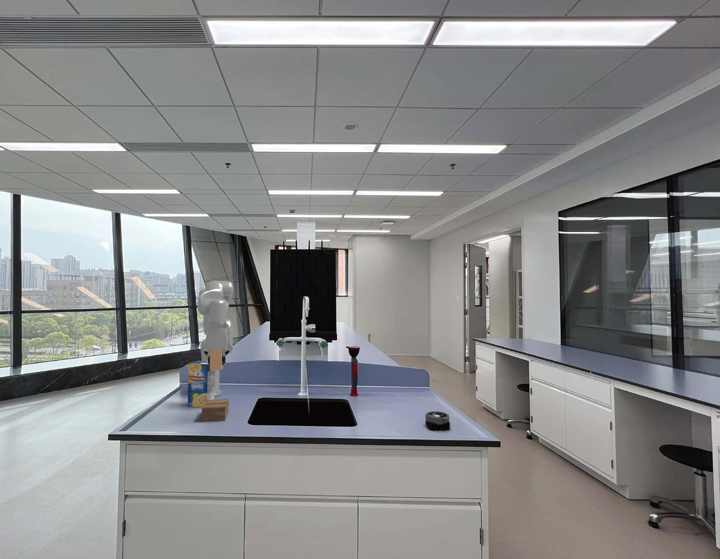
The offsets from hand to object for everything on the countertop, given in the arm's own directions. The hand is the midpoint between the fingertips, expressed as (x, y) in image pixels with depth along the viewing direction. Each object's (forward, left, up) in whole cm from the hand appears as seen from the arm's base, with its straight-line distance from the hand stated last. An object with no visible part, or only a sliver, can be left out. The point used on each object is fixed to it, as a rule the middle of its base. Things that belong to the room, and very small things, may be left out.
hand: (216, 364), depth 188 cm
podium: (0, 0, -24) cm, 24 cm away
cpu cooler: (+32, +98, -25) cm, 106 cm away
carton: (0, 0, -2) cm, 2 cm away
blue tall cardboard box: (-20, -10, -25) cm, 33 cm away
